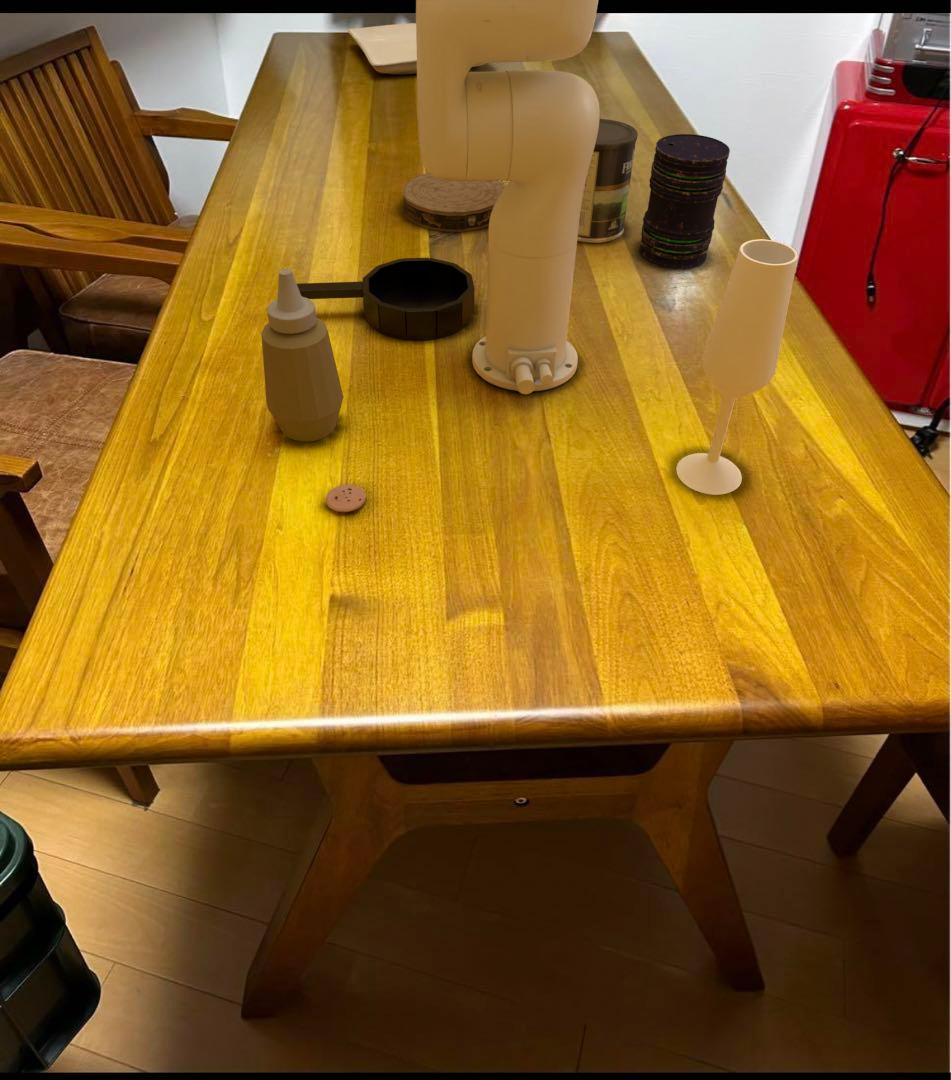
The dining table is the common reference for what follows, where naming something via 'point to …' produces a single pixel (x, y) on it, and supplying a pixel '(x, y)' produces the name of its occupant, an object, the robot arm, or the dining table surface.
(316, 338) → the squeeze bottle
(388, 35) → the square plate
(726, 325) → the champagne flute
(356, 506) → the cookie
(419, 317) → the frying pan
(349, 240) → the dining table surface
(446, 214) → the brown flat disc
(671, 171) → the dark brown cylinder
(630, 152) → the coffee can
